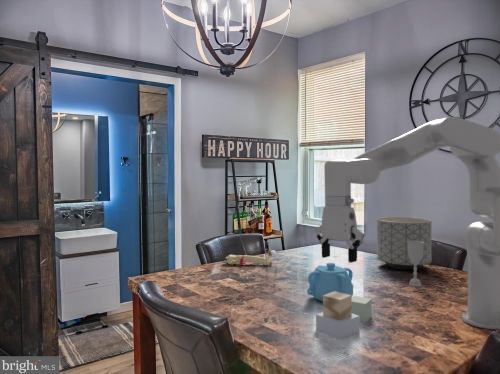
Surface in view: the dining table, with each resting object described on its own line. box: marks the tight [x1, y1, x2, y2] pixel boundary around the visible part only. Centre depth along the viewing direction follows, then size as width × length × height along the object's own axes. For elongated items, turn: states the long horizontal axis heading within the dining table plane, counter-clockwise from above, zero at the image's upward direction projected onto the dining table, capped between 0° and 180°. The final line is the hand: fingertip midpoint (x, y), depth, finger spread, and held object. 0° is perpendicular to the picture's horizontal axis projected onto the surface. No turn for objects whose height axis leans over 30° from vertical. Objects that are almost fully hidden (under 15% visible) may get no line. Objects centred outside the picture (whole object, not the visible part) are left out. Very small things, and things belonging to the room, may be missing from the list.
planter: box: [376, 216, 432, 271], centre depth 197 cm, size 25×25×24 cm
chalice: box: [407, 241, 424, 287], centre depth 166 cm, size 7×7×18 cm
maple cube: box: [322, 291, 353, 321], centre depth 118 cm, size 6×6×6 cm
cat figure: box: [223, 250, 273, 267], centre depth 206 cm, size 10×9×25 cm
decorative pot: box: [306, 262, 354, 302], centre depth 148 cm, size 16×16×14 cm
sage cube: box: [352, 295, 373, 323], centre depth 129 cm, size 6×6×6 cm
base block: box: [315, 311, 361, 340], centre depth 119 cm, size 9×9×5 cm
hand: (338, 259), depth 118 cm, fingers open, 9 cm apart
